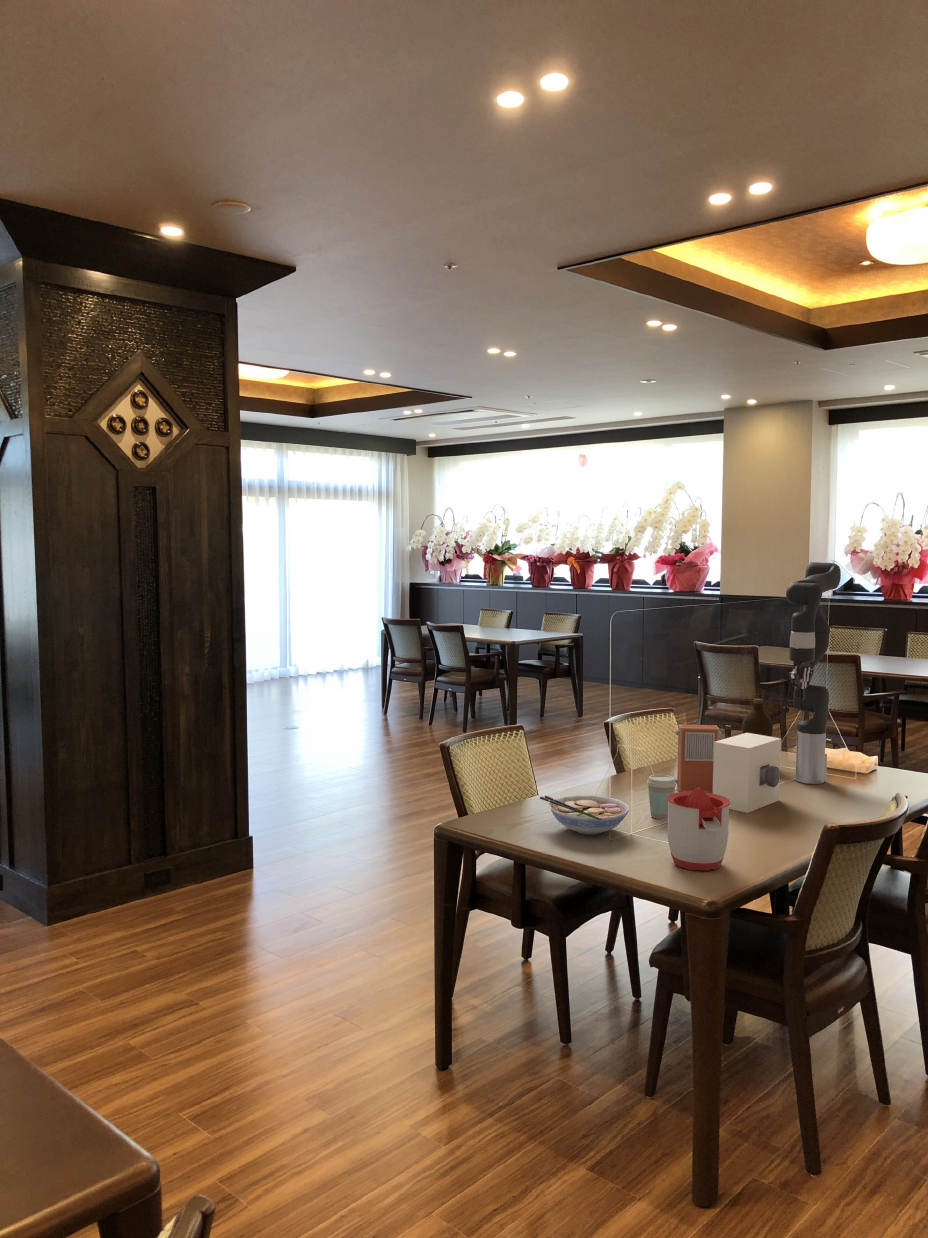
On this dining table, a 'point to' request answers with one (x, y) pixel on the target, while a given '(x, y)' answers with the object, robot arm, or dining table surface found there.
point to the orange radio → (696, 756)
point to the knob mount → (745, 770)
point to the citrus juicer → (697, 829)
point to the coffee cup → (660, 794)
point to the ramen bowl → (588, 812)
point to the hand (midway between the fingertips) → (800, 700)
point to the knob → (770, 775)
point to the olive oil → (757, 721)
